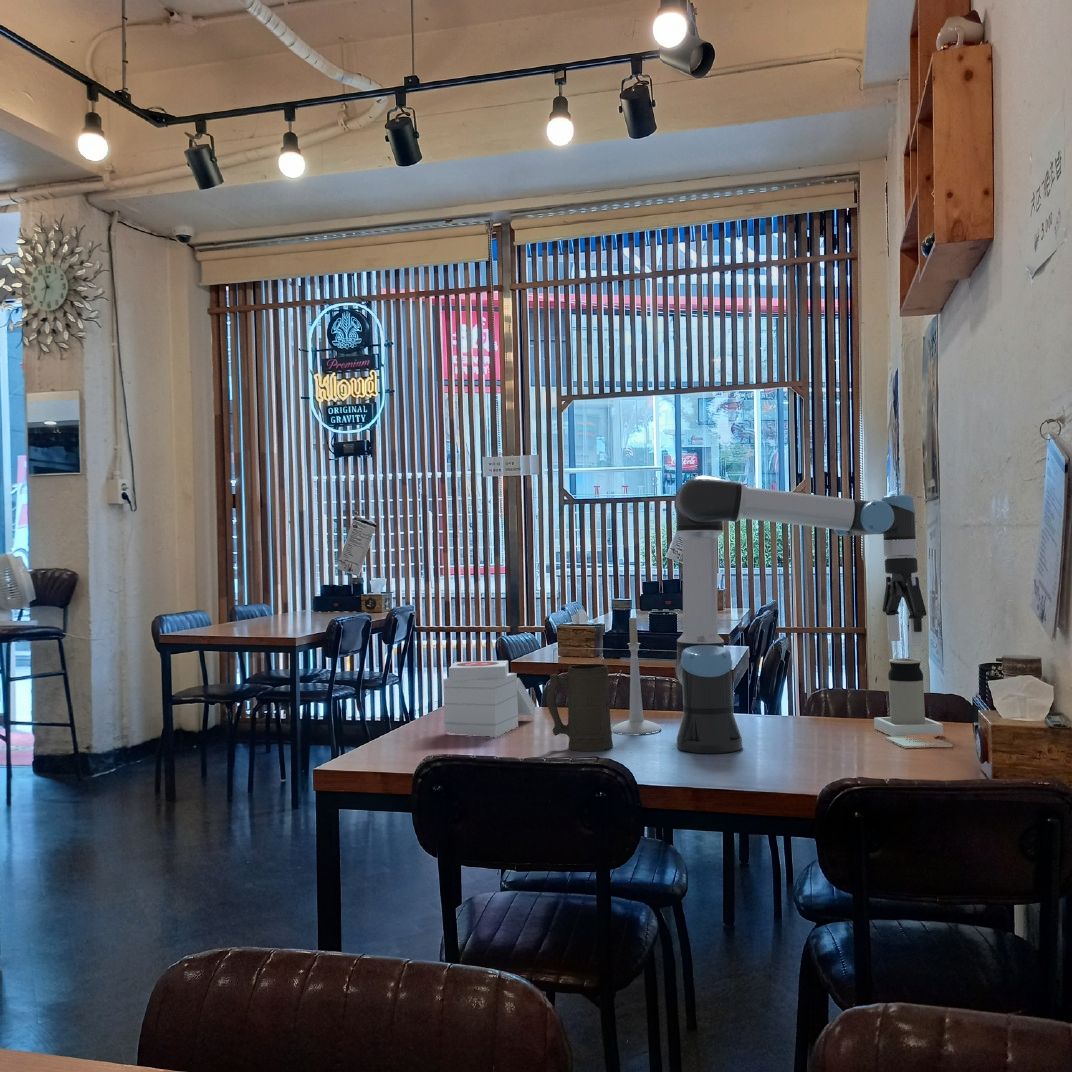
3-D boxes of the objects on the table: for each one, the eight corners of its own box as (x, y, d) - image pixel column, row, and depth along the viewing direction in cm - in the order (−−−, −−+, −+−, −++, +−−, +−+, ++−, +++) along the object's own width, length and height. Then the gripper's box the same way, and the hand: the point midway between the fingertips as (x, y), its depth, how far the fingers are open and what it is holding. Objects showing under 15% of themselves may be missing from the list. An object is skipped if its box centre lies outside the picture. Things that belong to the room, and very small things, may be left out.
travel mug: (920, 737, 222) (917, 662, 222) (886, 734, 227) (883, 660, 227) (929, 731, 228) (926, 658, 229) (896, 729, 233) (893, 657, 233)
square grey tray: (893, 738, 221) (893, 725, 221) (874, 729, 233) (874, 717, 233) (943, 736, 221) (942, 724, 222) (921, 727, 233) (921, 715, 234)
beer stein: (609, 741, 229) (601, 660, 229) (621, 749, 218) (612, 665, 218) (549, 749, 226) (541, 668, 226) (557, 758, 215) (549, 672, 216)
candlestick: (660, 726, 248) (656, 614, 249) (662, 734, 235) (658, 617, 236) (612, 726, 249) (609, 615, 250) (611, 735, 236) (608, 618, 237)
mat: (904, 748, 209) (904, 746, 209) (885, 739, 220) (885, 737, 220) (952, 747, 209) (952, 744, 209) (930, 738, 220) (930, 735, 220)
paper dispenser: (542, 719, 264) (540, 656, 264) (499, 739, 236) (497, 668, 236) (481, 717, 271) (479, 655, 271) (432, 736, 243) (431, 667, 244)
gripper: (938, 556, 216) (943, 647, 216) (895, 557, 241) (899, 638, 241) (906, 557, 216) (911, 648, 215) (866, 558, 241) (871, 639, 240)
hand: (905, 643), depth 228 cm, fingers open, 13 cm apart
